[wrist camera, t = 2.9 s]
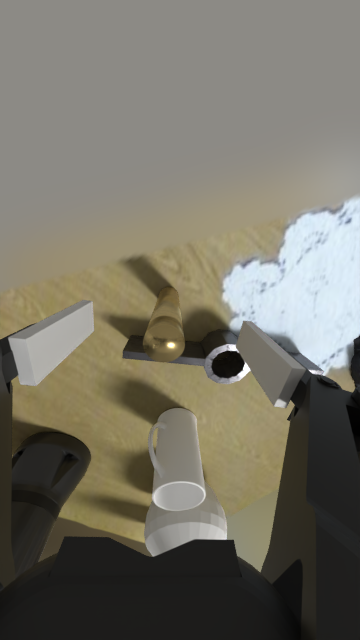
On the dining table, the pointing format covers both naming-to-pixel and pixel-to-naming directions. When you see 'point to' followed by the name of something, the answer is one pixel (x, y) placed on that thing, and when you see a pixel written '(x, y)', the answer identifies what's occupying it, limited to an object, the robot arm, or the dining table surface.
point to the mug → (176, 461)
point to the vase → (184, 524)
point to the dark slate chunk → (356, 362)
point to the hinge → (211, 356)
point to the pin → (165, 328)
